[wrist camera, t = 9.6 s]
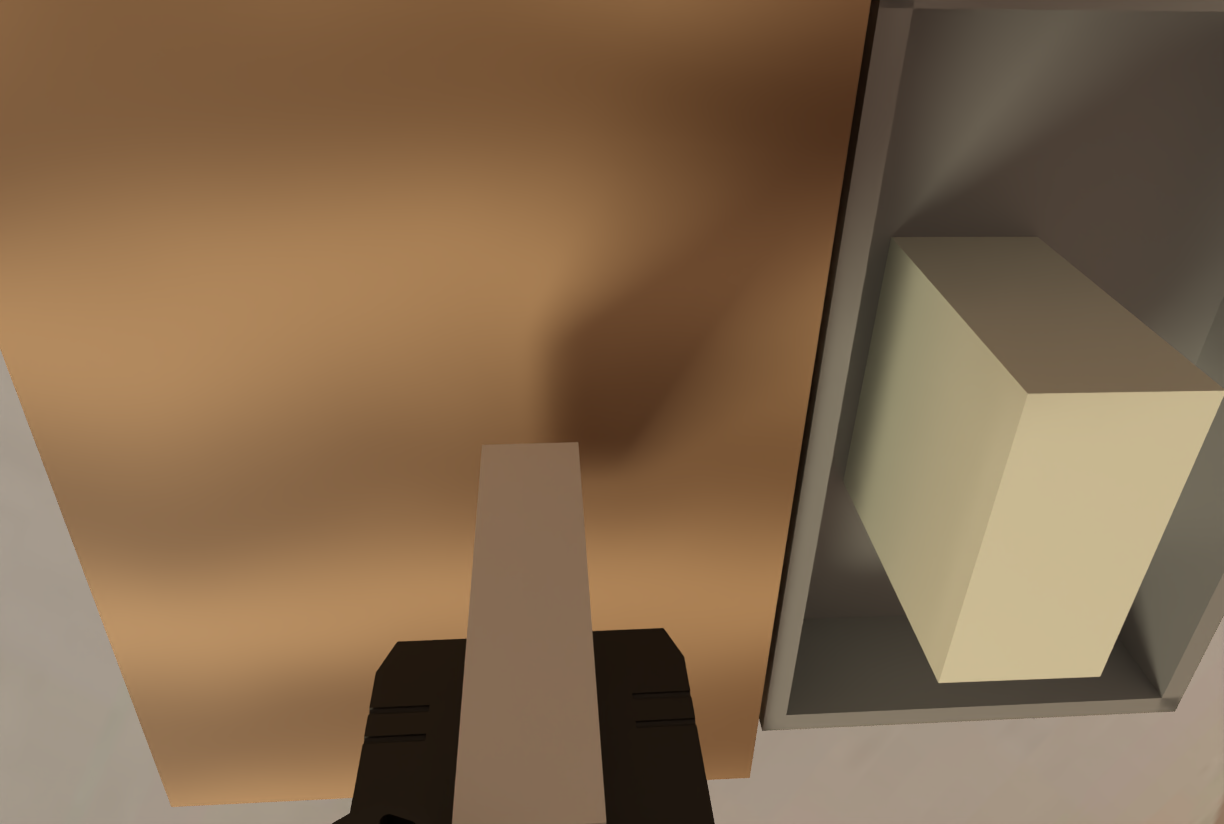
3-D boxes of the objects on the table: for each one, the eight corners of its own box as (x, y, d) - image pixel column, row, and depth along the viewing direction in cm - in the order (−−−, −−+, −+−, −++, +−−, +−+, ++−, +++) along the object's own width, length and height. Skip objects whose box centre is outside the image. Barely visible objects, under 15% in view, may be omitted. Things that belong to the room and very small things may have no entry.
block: (1027, 393, 13) (1226, 390, 14) (891, 236, 18) (1037, 236, 19) (938, 682, 17) (1100, 677, 17) (843, 481, 22) (968, 478, 22)
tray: (820, -58, 16) (885, -31, 13) (1367, -50, 17) (1548, -22, 14) (734, 621, 24) (762, 730, 21) (1099, 607, 25) (1175, 711, 22)
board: (-14, -144, 14) (-180, -133, 11) (810, -126, 15) (888, -111, 12) (222, 668, 24) (171, 806, 21) (720, 648, 25) (749, 777, 22)
